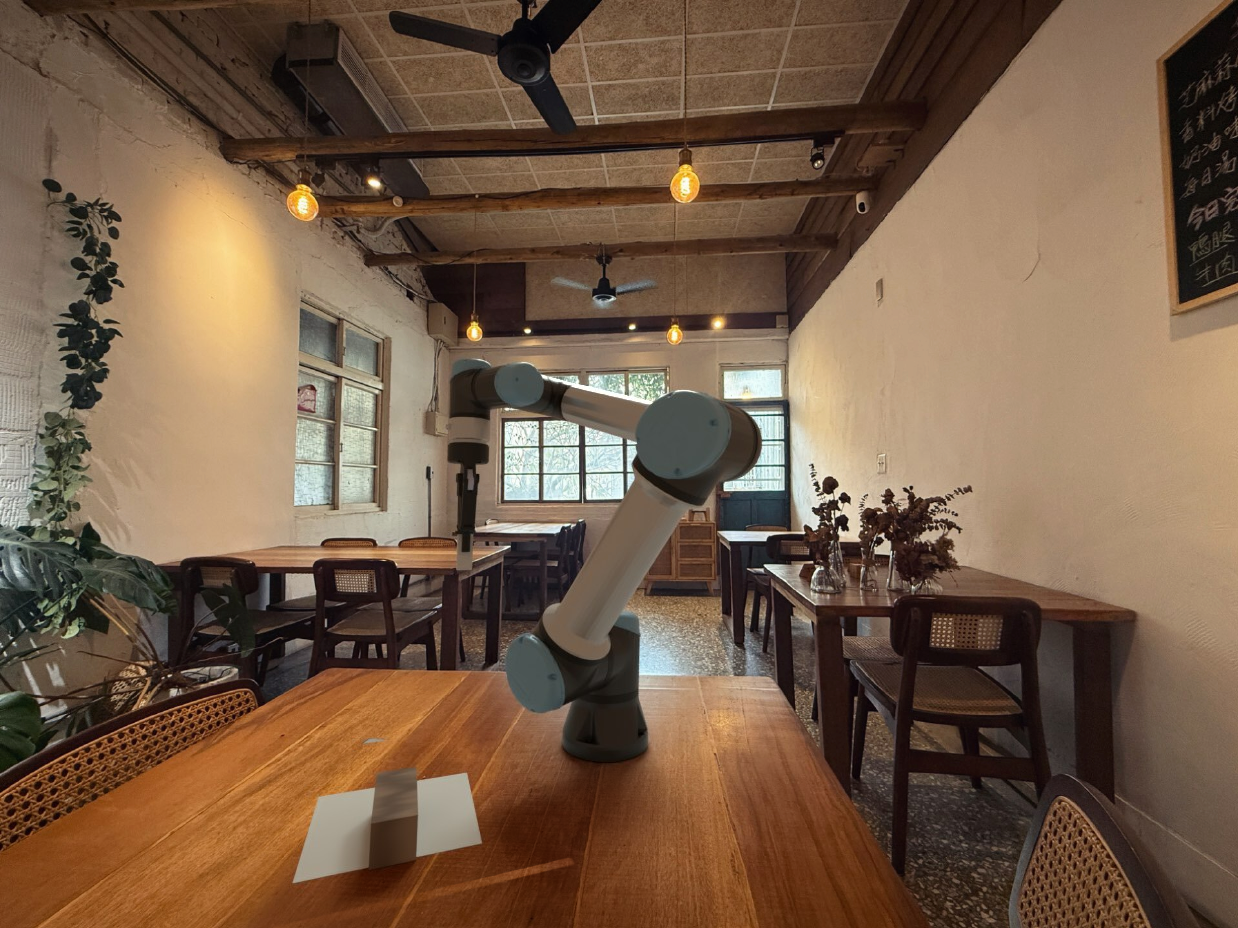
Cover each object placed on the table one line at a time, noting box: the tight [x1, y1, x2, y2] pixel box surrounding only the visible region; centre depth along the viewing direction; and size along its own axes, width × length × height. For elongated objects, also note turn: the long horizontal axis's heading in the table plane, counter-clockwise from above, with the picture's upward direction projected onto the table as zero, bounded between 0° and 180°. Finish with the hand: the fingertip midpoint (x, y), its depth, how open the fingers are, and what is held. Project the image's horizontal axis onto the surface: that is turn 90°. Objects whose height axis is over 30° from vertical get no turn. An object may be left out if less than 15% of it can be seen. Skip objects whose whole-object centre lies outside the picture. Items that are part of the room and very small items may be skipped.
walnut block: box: [368, 766, 418, 871], centre depth 66 cm, size 5×5×12 cm
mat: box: [292, 772, 483, 884], centre depth 70 cm, size 20×18×1 cm
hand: (464, 569), depth 98 cm, fingers closed
